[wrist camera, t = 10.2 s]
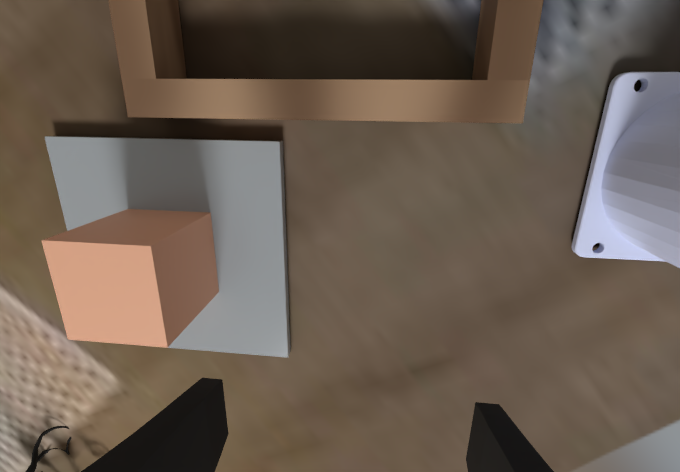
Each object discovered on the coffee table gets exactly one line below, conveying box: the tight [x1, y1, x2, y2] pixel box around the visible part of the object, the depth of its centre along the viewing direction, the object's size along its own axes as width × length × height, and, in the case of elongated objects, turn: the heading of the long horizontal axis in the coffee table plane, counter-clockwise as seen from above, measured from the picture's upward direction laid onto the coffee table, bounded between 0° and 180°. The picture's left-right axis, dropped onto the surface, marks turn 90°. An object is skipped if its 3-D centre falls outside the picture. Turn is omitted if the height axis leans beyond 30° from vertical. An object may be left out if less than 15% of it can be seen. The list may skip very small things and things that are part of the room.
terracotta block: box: [42, 209, 219, 348], centre depth 17 cm, size 4×4×5 cm
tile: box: [45, 136, 290, 357], centre depth 19 cm, size 12×12×1 cm
